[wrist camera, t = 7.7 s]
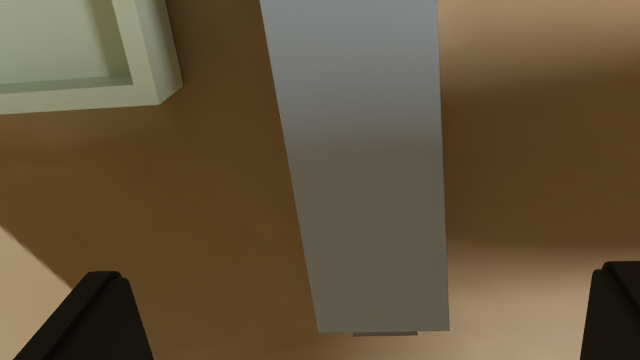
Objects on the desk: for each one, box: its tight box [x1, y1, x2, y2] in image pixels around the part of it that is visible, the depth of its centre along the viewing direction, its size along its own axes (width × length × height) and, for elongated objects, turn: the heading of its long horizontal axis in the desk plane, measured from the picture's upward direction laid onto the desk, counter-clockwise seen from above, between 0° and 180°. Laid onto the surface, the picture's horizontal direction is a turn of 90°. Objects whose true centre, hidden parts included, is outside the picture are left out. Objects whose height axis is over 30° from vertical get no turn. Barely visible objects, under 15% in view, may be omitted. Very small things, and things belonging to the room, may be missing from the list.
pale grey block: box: [260, 0, 450, 336], centre depth 19 cm, size 5×13×6 cm, turn 7°
